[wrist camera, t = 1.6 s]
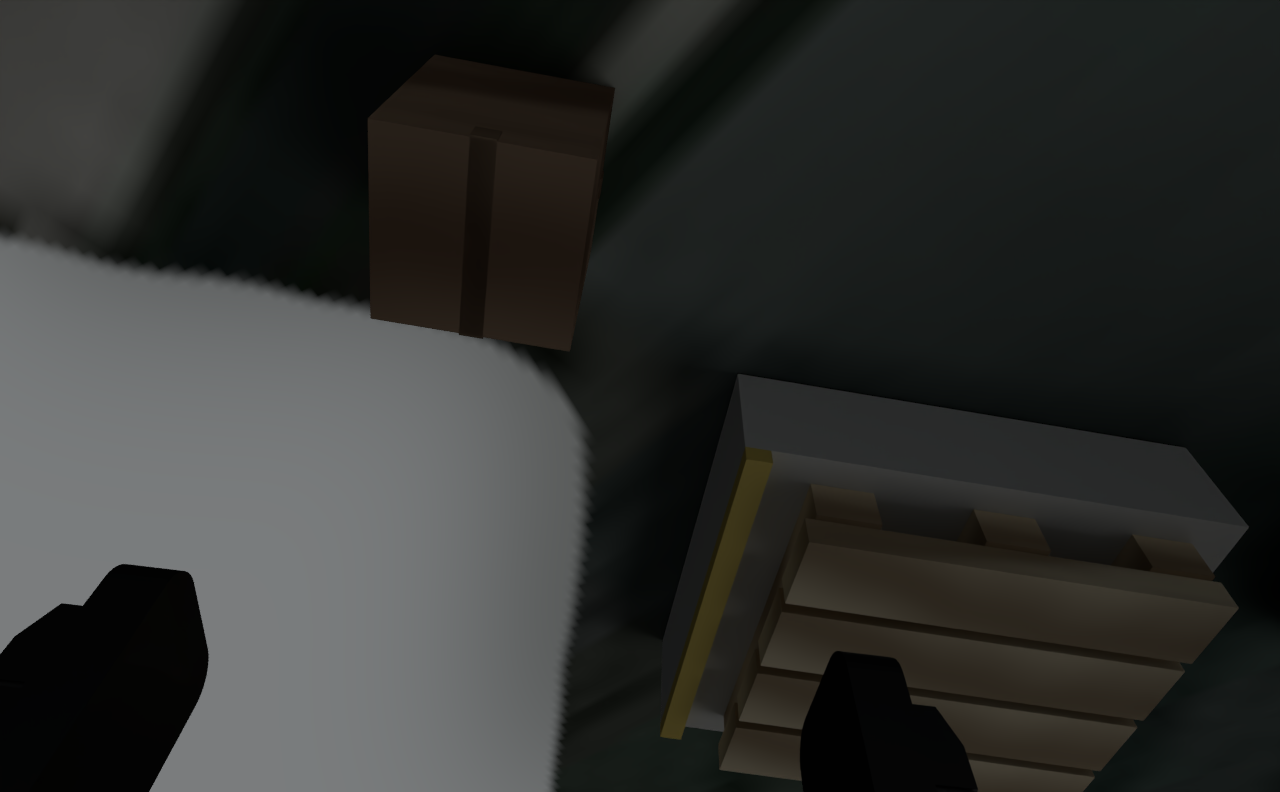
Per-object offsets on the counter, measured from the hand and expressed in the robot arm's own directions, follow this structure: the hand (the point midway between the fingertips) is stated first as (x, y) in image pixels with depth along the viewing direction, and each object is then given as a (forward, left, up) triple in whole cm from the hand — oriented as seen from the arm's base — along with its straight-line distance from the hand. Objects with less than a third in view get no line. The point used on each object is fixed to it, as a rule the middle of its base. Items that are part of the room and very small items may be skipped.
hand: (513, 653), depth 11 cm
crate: (0, -3, -17) cm, 17 cm away
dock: (+13, +13, -17) cm, 25 cm away
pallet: (+13, +14, -13) cm, 23 cm away
